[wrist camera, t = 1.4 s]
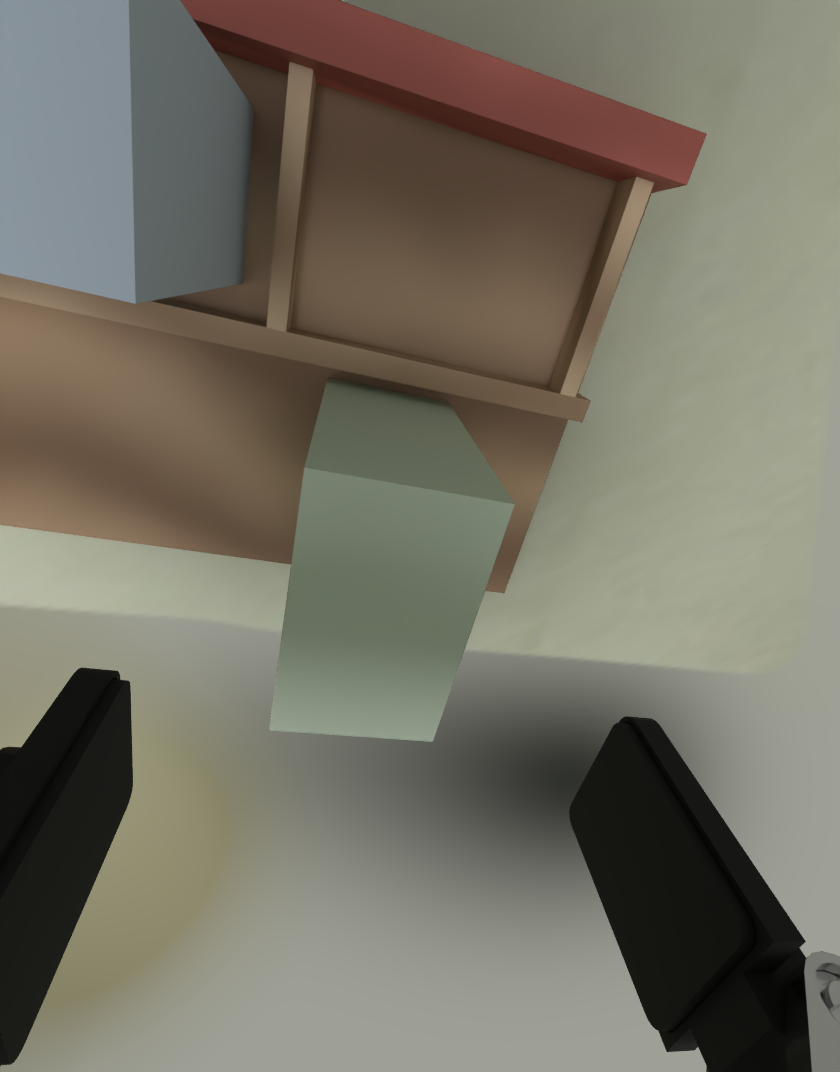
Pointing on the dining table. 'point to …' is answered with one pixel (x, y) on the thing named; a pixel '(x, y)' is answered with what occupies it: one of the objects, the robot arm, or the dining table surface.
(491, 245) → the shelf
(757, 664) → the dining table surface
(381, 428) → the sage carton
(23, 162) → the blue carton
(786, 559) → the dining table surface
